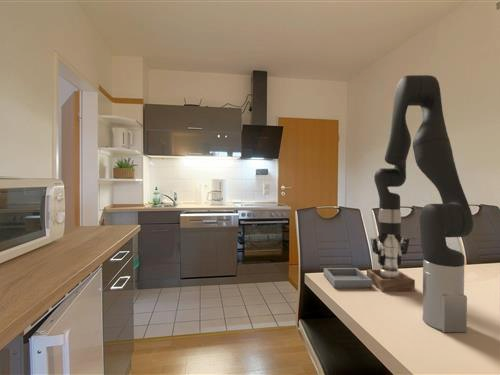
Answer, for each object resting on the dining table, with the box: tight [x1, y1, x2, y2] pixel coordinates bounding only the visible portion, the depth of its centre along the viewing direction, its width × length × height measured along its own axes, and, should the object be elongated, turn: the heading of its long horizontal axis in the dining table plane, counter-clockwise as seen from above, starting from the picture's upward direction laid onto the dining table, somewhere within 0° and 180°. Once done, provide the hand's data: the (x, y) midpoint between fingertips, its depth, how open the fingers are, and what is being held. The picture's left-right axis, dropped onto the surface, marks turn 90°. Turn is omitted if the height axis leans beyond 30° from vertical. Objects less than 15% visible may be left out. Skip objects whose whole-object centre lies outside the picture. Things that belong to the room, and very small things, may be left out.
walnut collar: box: [366, 268, 416, 292], centre depth 102 cm, size 12×12×4 cm
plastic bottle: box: [379, 234, 400, 279], centre depth 102 cm, size 6×7×20 cm
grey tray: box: [323, 267, 373, 289], centre depth 106 cm, size 14×14×3 cm
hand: (389, 265), depth 102 cm, fingers closed on plastic bottle, 5 cm apart
